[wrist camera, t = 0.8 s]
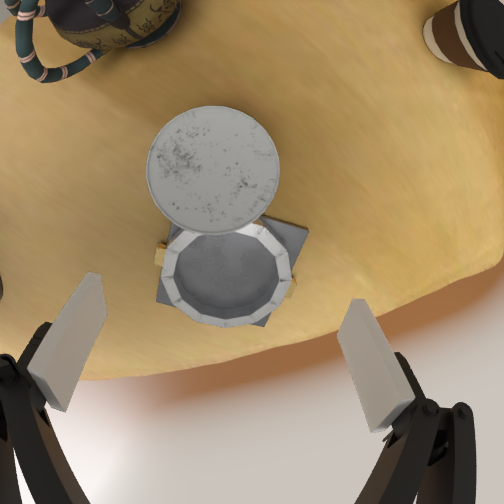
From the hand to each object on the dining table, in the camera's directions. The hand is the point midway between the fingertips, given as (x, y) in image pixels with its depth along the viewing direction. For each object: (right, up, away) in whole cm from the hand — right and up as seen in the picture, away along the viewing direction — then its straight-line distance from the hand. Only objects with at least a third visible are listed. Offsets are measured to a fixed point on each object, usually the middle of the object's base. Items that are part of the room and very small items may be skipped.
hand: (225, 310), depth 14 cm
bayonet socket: (-2, +1, +23) cm, 23 cm away
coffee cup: (+26, +31, +9) cm, 41 cm away
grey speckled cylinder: (-2, +14, +16) cm, 22 cm away
